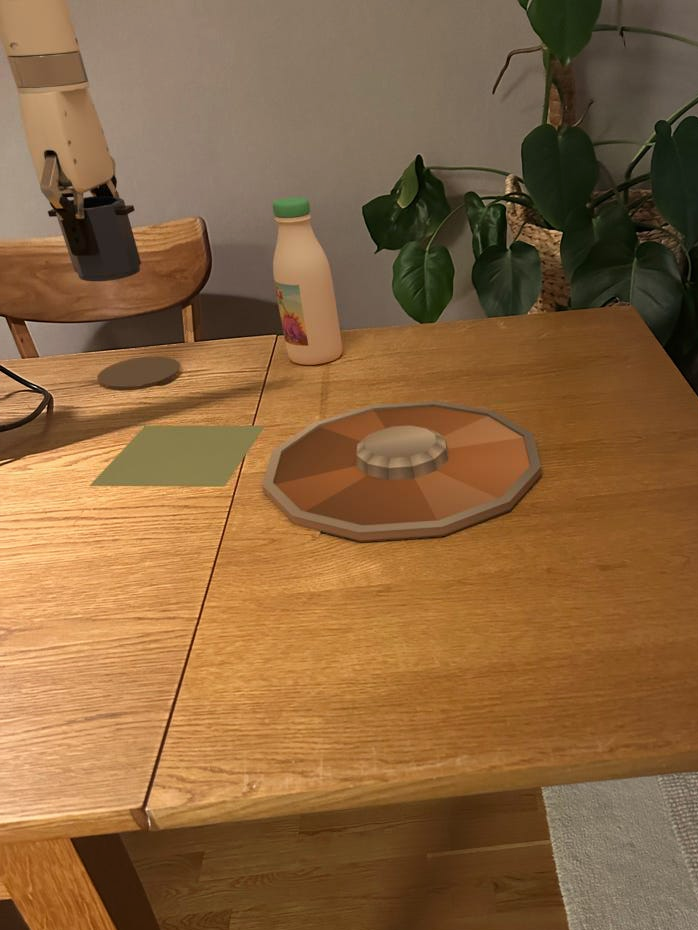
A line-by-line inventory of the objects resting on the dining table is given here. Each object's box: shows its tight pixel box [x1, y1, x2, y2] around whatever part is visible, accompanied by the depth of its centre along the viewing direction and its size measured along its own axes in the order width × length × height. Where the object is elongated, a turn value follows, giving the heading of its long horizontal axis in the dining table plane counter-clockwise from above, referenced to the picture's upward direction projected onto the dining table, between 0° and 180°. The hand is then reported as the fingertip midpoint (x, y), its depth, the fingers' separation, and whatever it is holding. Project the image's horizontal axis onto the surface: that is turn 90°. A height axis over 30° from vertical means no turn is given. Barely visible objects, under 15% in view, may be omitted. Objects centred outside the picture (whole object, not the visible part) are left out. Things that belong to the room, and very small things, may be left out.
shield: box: [261, 400, 542, 543], centre depth 89 cm, size 30×3×30 cm
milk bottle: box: [272, 196, 343, 366], centre depth 112 cm, size 8×8×20 cm
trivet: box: [96, 356, 182, 392], centre depth 115 cm, size 11×11×1 cm
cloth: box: [89, 425, 265, 488], centre depth 95 cm, size 15×15×1 cm
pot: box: [47, 196, 142, 282], centre depth 103 cm, size 10×7×8 cm
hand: (101, 244), depth 103 cm, fingers closed on pot, 7 cm apart
